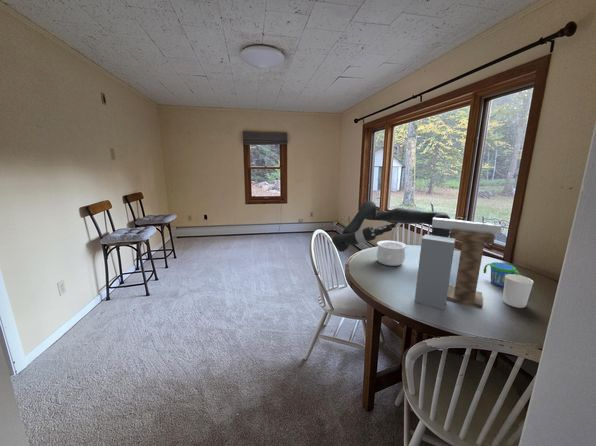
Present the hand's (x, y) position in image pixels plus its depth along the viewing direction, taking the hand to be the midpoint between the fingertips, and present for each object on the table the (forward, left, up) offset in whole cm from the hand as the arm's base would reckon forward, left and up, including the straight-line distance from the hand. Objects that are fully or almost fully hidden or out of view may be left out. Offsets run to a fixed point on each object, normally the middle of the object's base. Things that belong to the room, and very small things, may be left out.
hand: (393, 226), depth 139 cm
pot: (-17, -16, -29) cm, 37 cm away
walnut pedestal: (-15, +31, -29) cm, 45 cm away
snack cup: (-47, +31, -29) cm, 64 cm away
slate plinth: (+3, +28, -29) cm, 40 cm away
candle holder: (-31, +45, -29) cm, 62 cm away
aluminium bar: (-14, +28, +3) cm, 32 cm away
